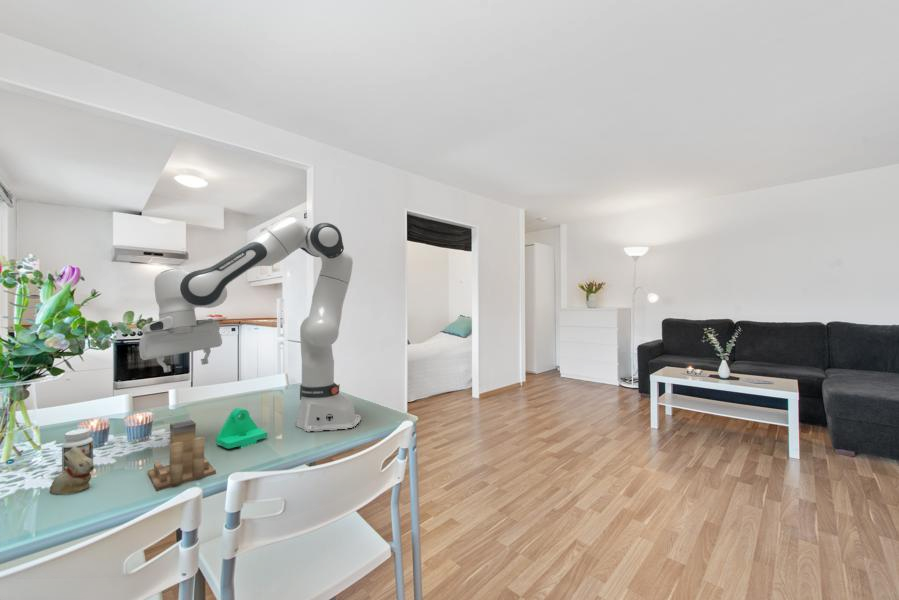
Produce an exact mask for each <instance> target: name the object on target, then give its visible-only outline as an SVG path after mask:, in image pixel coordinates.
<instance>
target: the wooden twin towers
mask: <svg viewBox="0 0 899 600" xmlns="http://www.w3.org/2000/svg"><path fill="white" fill-rule="evenodd" d="M169 465H170V471H169ZM215 474H217V470H216V468H214V466H213V465H211V463H210V461H209V460H208V459H207V458H206V457H205V437H203V436H202V437H195V439H193V453H192V471H191V472H187V473H184V474H183V442H176V443H173V444H171V459H170V458H169V464H168V465H164V466H163V464H162V462H161V461H155V462H154V463H153V469H149V470H147V475H148V477H149V479H150V482H151V483H152V485H153V487H154V489H155V490H156V492H157V491H161V490H165V489H168V488H172V487H174V486H178V484H179V485H182V484H185V483H188V481H189V482H192V481H195V480H198V479H202V478H205V477H209V476H213V475H215ZM184 482H185V483H184ZM181 483H182V484H181Z"/></svg>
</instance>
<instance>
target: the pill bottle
mask: <svg viewBox="0 0 899 600" xmlns="http://www.w3.org/2000/svg"><path fill="white" fill-rule="evenodd" d="M90 435H91V428H76V429H72V430H69V431H68V432H65V433H64V439H65V442H63V443H62V446H61V470H62V471H61V473H63V472H65V471H66V470H67V468H68V466H67V463H66V462H65V460H64V458H63V455H64V453H66V452H68V451H69V450H71V448H73V447H78V448H79V449H80V450H81V451H82V452H83V454H84V455H85V456H87V457H88V458H91V459H92V460H93V461H94V439H93V437H91V436H90Z"/></svg>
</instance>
